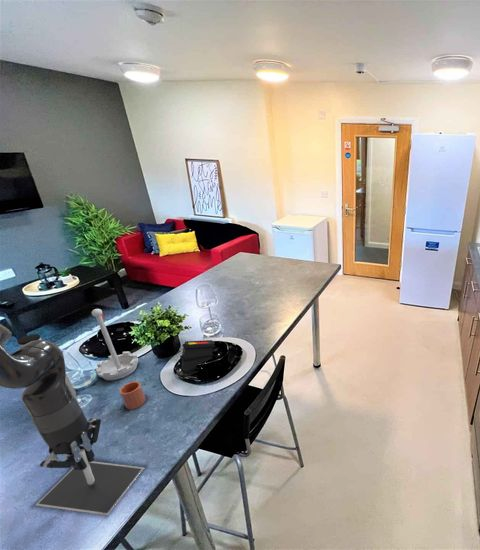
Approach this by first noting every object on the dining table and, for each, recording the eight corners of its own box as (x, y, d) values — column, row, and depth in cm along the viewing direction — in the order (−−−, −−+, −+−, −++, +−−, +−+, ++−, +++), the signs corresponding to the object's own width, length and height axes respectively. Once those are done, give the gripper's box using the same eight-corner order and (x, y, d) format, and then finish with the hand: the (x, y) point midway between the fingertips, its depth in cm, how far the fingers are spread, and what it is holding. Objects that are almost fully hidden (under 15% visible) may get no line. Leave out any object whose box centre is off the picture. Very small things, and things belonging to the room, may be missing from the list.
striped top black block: (173, 375, 116) (183, 341, 115) (206, 371, 126) (216, 339, 126) (176, 380, 114) (187, 345, 113) (210, 375, 124) (220, 343, 123)
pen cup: (137, 411, 102) (130, 394, 99) (122, 409, 102) (115, 393, 99) (150, 398, 107) (144, 382, 104) (135, 397, 108) (129, 380, 104)
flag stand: (138, 376, 117) (115, 313, 104) (96, 388, 111) (66, 322, 98) (142, 357, 127) (121, 298, 115) (103, 367, 121) (77, 305, 109)
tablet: (108, 517, 73) (106, 515, 73) (36, 507, 75) (34, 505, 74) (145, 469, 84) (144, 467, 84) (81, 461, 86) (80, 459, 85)
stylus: (91, 487, 79) (80, 454, 73) (87, 486, 79) (75, 453, 73) (96, 481, 80) (86, 449, 74) (92, 480, 80) (80, 448, 74)
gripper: (74, 393, 75) (97, 439, 82) (10, 442, 62) (44, 491, 70) (101, 396, 74) (121, 441, 82) (42, 446, 62) (73, 494, 69)
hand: (85, 464), depth 75 cm, fingers closed on stylus, 1 cm apart
